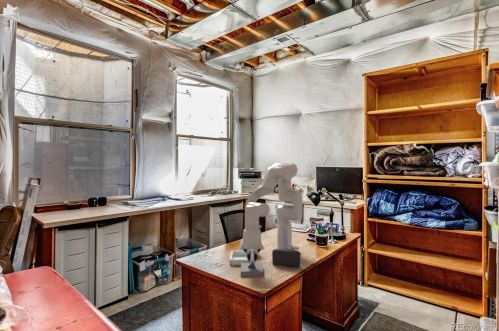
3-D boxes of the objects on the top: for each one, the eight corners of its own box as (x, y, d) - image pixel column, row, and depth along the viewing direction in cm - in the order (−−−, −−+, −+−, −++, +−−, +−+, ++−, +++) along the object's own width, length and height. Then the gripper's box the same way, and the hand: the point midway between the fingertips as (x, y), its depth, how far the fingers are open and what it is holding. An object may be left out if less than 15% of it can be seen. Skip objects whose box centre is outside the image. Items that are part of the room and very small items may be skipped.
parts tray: (253, 256, 179) (253, 250, 179) (253, 266, 163) (253, 259, 163) (231, 256, 179) (231, 250, 179) (229, 266, 163) (229, 259, 163)
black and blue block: (300, 265, 164) (300, 249, 164) (300, 268, 160) (300, 251, 160) (273, 262, 168) (273, 247, 168) (272, 265, 163) (272, 249, 163)
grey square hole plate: (262, 268, 160) (262, 263, 160) (263, 277, 148) (263, 271, 148) (241, 268, 160) (241, 262, 160) (240, 277, 148) (240, 271, 148)
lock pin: (254, 265, 155) (254, 249, 155) (255, 268, 152) (254, 251, 152) (249, 265, 156) (249, 249, 155) (249, 268, 152) (249, 251, 152)
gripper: (266, 225, 157) (266, 258, 158) (237, 225, 157) (237, 258, 158) (267, 229, 149) (267, 263, 150) (236, 229, 149) (237, 263, 150)
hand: (252, 260), depth 154 cm, fingers closed on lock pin, 3 cm apart
